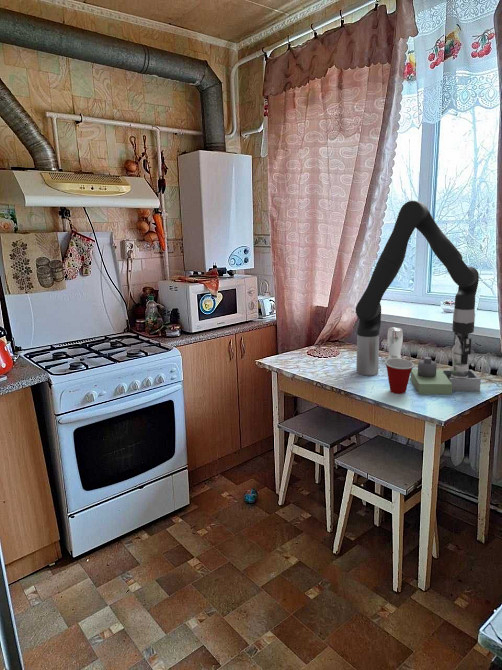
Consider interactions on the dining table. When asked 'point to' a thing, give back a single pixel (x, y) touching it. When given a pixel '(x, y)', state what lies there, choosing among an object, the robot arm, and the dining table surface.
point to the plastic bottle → (458, 363)
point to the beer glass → (395, 342)
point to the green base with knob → (430, 378)
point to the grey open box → (464, 381)
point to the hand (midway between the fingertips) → (460, 360)
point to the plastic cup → (398, 374)
